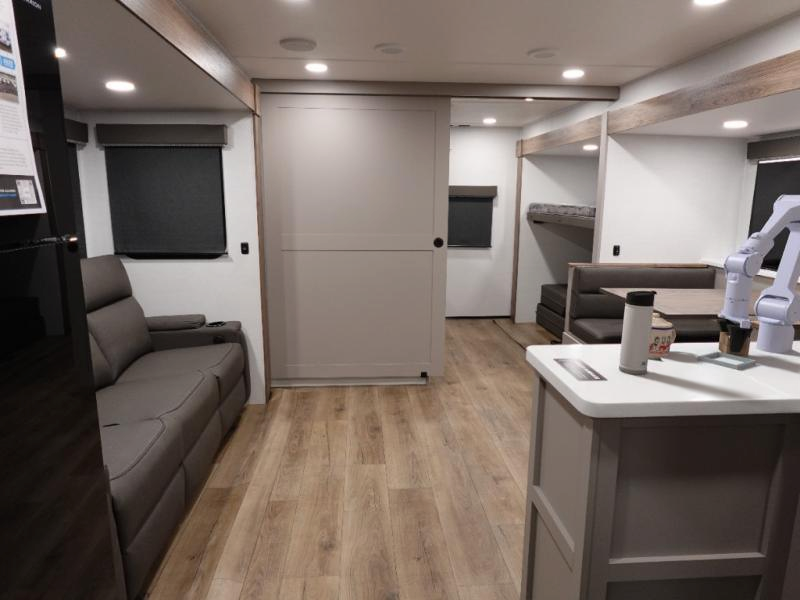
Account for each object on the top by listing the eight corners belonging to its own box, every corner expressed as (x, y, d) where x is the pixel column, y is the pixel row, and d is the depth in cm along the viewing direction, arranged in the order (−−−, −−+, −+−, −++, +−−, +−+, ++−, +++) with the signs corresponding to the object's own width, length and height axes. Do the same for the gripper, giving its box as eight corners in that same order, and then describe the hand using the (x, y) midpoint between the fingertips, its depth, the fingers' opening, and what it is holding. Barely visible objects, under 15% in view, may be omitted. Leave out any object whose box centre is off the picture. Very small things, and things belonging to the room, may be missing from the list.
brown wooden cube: (718, 349, 148) (720, 331, 147) (740, 350, 147) (742, 332, 146) (725, 355, 143) (727, 337, 142) (748, 356, 142) (750, 338, 141)
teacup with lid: (650, 361, 141) (655, 317, 139) (625, 352, 149) (629, 311, 147) (685, 358, 145) (691, 315, 143) (659, 349, 153) (664, 309, 151)
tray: (716, 358, 145) (717, 351, 145) (755, 368, 137) (756, 360, 137) (697, 363, 140) (698, 356, 139) (736, 373, 132) (737, 365, 132)
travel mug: (650, 376, 128) (660, 293, 125) (621, 373, 129) (629, 291, 126) (644, 368, 134) (653, 289, 131) (616, 366, 135) (624, 287, 132)
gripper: (711, 293, 150) (705, 341, 153) (731, 302, 136) (724, 354, 139) (739, 295, 149) (732, 342, 151) (762, 304, 135) (755, 356, 137)
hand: (730, 348), depth 145 cm, fingers closed on brown wooden cube, 5 cm apart
